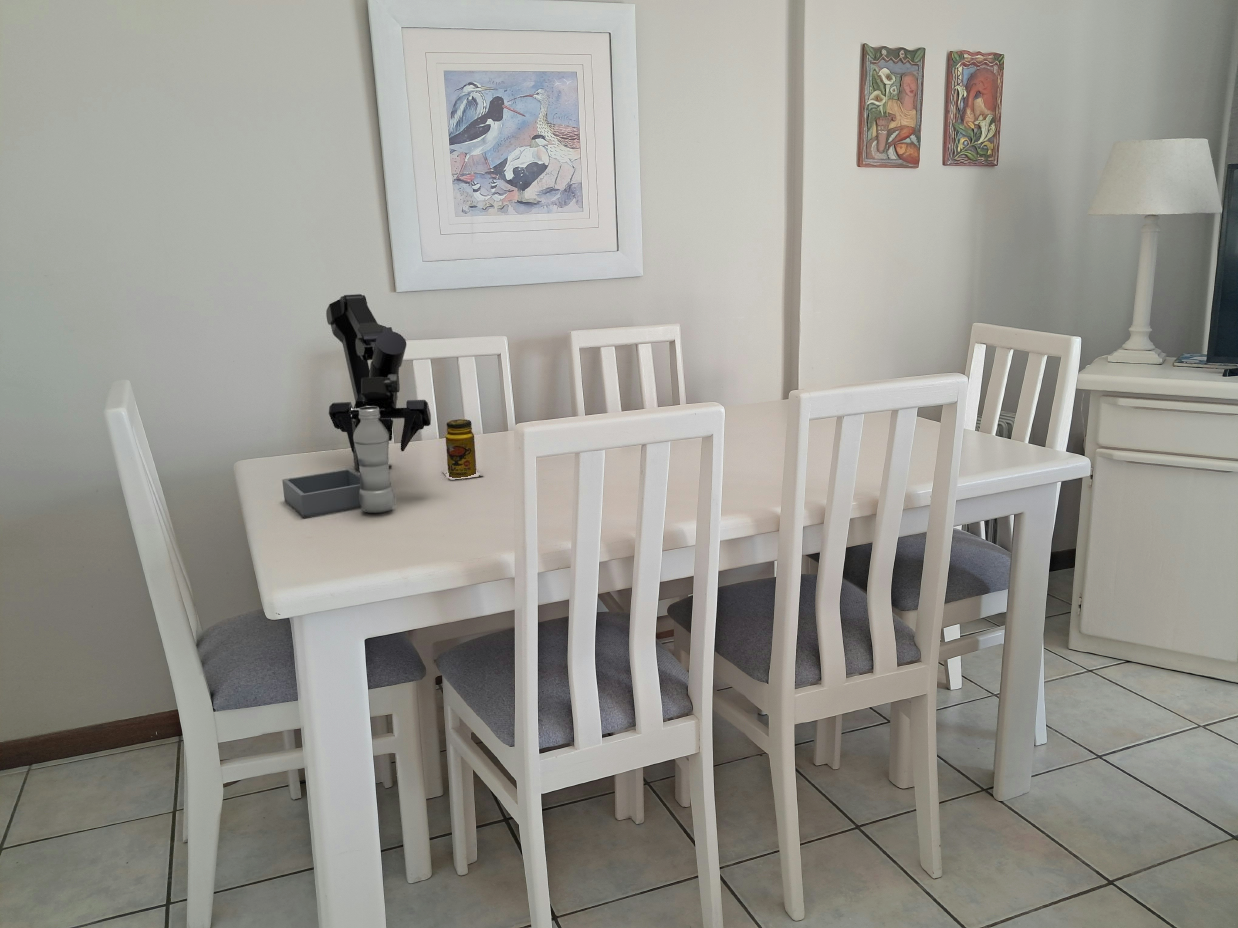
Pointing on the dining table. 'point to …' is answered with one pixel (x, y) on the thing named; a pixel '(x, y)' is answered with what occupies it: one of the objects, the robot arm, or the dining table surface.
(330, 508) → the tote
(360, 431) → the plastic bottle
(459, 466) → the condiment
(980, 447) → the dining table surface
